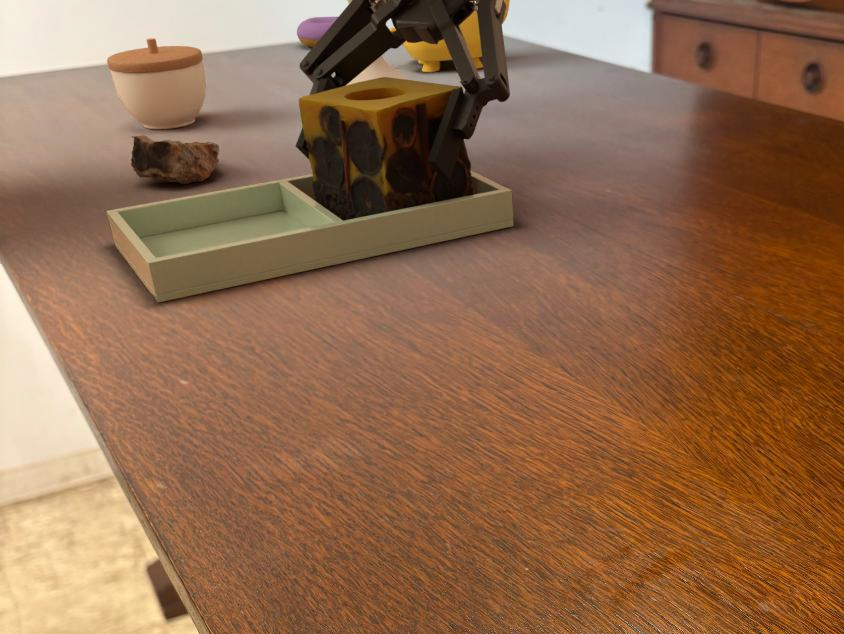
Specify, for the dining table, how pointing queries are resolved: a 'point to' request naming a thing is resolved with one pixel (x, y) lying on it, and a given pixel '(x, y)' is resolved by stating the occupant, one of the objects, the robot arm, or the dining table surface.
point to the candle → (379, 147)
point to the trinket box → (160, 84)
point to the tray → (281, 233)
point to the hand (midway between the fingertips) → (370, 163)
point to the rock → (173, 160)
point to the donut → (314, 29)
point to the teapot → (437, 52)
